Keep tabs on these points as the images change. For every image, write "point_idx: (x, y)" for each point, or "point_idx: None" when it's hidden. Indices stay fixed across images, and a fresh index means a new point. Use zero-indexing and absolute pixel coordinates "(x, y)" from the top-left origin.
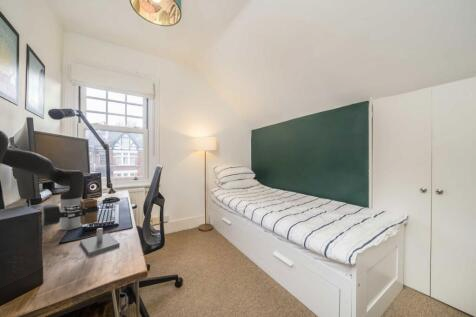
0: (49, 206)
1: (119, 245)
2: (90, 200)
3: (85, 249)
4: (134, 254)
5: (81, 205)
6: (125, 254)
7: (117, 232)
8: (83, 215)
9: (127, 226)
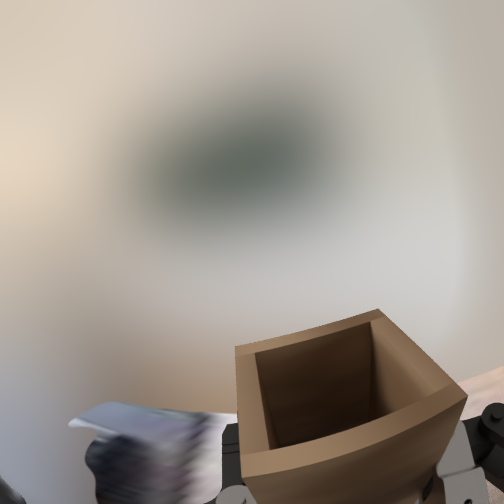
0: None
1: None
2: (407, 343)
3: None
4: (468, 389)
5: (361, 487)
6: (462, 411)
7: (212, 457)
8: (493, 450)
9: (175, 422)
